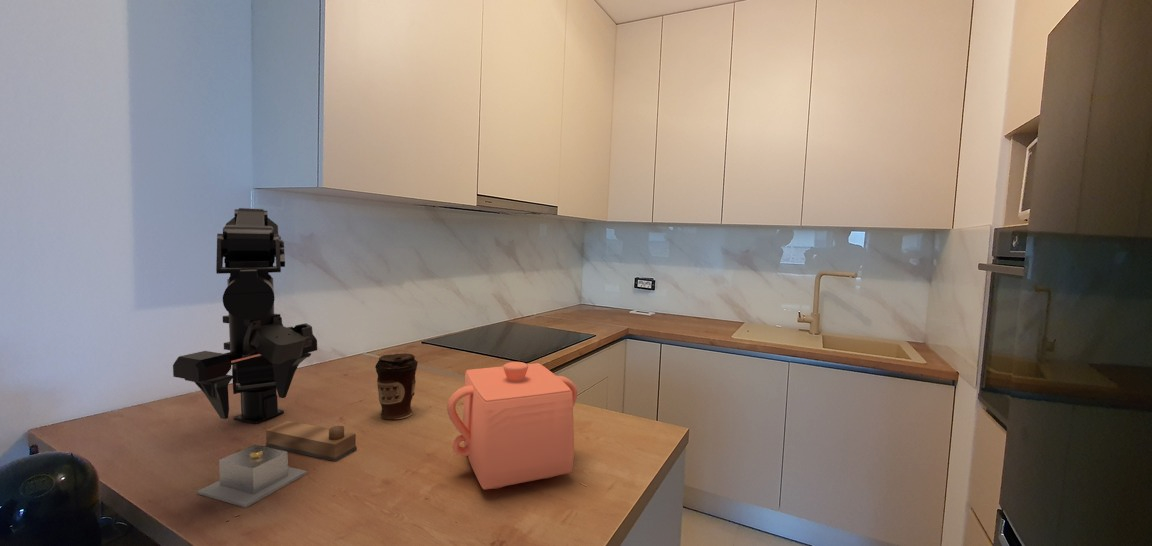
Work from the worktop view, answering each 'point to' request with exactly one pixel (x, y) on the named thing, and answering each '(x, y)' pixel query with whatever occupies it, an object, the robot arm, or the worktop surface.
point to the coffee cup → (396, 384)
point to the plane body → (312, 440)
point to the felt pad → (247, 498)
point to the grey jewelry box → (253, 469)
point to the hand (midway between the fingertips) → (255, 407)
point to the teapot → (515, 423)
